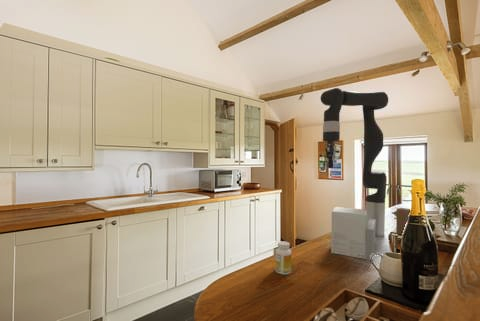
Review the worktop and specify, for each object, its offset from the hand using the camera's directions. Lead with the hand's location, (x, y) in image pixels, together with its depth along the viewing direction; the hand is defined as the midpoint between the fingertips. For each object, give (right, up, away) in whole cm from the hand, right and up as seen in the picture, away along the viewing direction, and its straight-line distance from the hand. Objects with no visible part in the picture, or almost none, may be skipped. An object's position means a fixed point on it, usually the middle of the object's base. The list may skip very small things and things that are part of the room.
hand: (330, 168), depth 120 cm
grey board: (+13, -35, -12) cm, 39 cm away
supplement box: (+3, -35, -12) cm, 37 cm away
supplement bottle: (-28, -34, -34) cm, 56 cm away
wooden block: (+30, -36, -11) cm, 48 cm away
